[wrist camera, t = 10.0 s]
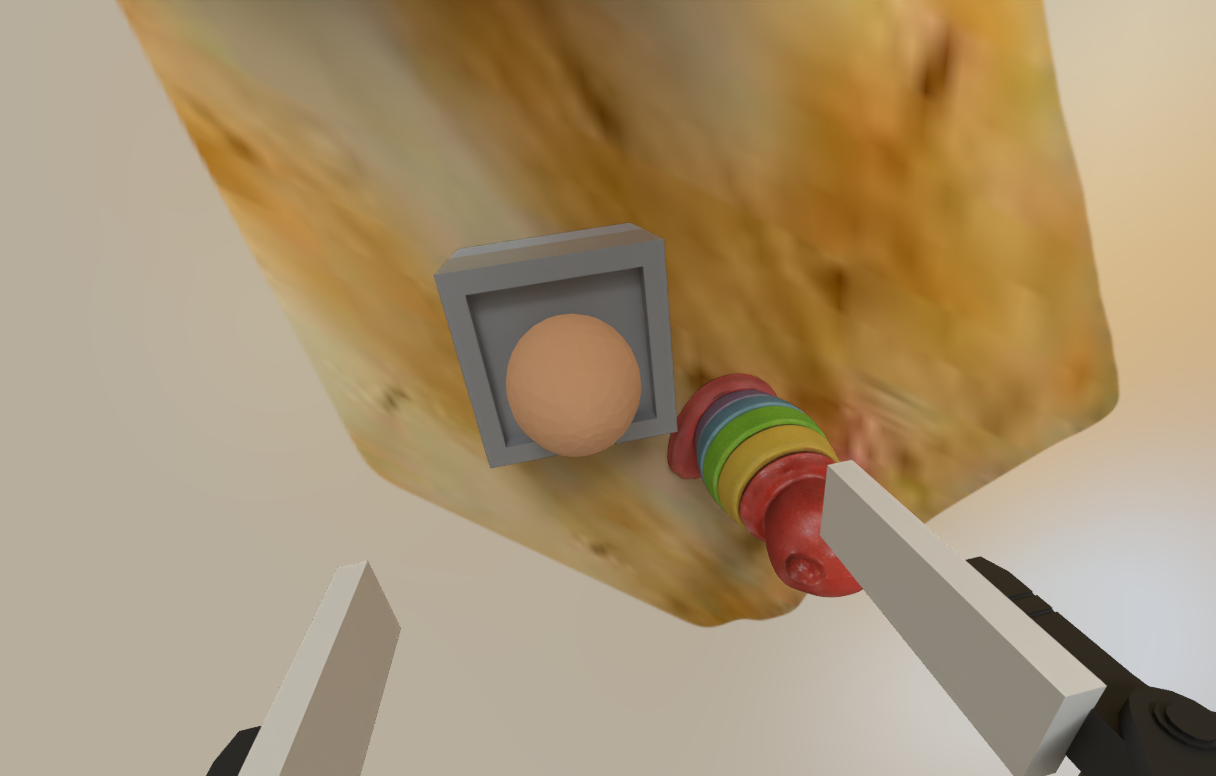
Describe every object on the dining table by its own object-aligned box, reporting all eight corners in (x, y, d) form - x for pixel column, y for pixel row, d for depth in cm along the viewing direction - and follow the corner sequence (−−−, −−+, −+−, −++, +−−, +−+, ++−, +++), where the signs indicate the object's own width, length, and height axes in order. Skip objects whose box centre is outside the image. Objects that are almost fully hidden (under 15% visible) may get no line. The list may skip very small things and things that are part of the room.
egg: (507, 403, 28) (499, 495, 20) (510, 292, 25) (502, 348, 17) (616, 406, 29) (650, 494, 21) (630, 301, 26) (675, 356, 18)
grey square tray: (458, 249, 31) (433, 275, 23) (630, 222, 32) (663, 238, 24) (498, 403, 36) (490, 468, 28) (645, 376, 37) (677, 431, 29)
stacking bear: (665, 474, 42) (748, 657, 26) (673, 373, 38) (779, 518, 22) (774, 465, 44) (916, 633, 28) (794, 367, 39) (976, 498, 24)
